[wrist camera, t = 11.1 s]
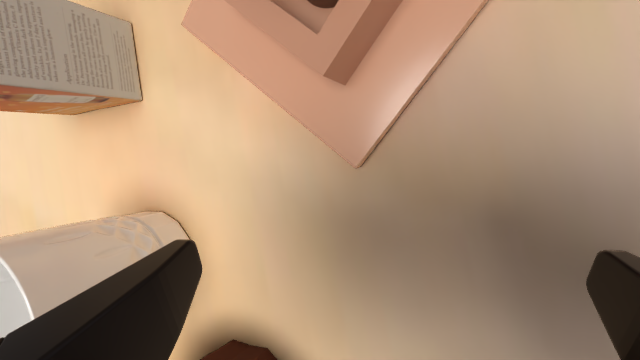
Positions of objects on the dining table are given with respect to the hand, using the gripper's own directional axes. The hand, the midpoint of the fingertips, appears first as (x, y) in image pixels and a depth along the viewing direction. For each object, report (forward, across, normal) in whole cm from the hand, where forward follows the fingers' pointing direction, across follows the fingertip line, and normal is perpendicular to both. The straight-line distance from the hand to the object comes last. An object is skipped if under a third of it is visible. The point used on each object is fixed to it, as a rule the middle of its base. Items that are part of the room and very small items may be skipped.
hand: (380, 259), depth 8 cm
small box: (+18, +20, -2) cm, 27 cm away
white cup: (+12, +16, +10) cm, 22 cm away
